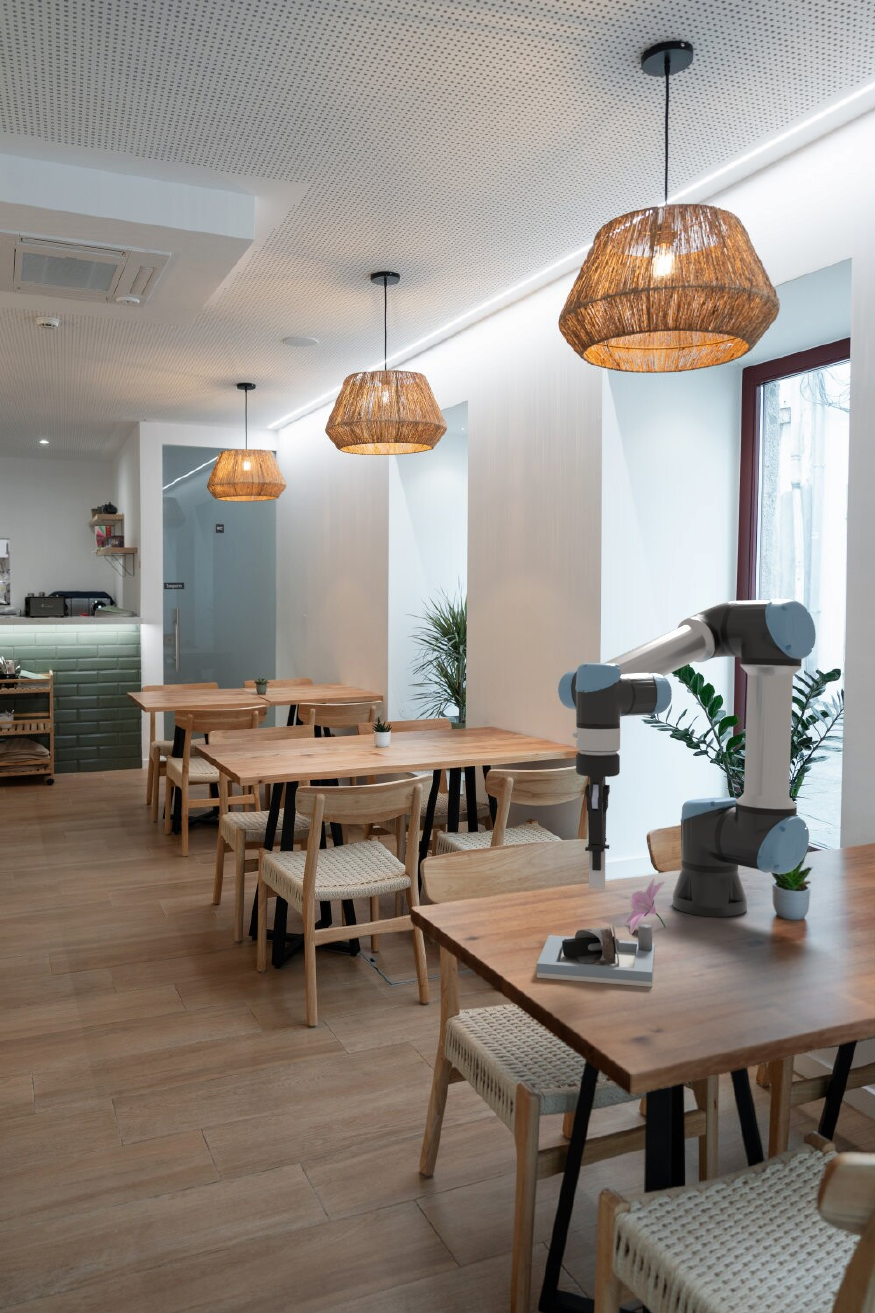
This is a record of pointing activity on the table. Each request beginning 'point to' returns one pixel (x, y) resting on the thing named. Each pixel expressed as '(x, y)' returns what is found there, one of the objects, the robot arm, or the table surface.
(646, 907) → the lily
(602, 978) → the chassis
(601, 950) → the caster wheel
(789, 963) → the table surface
